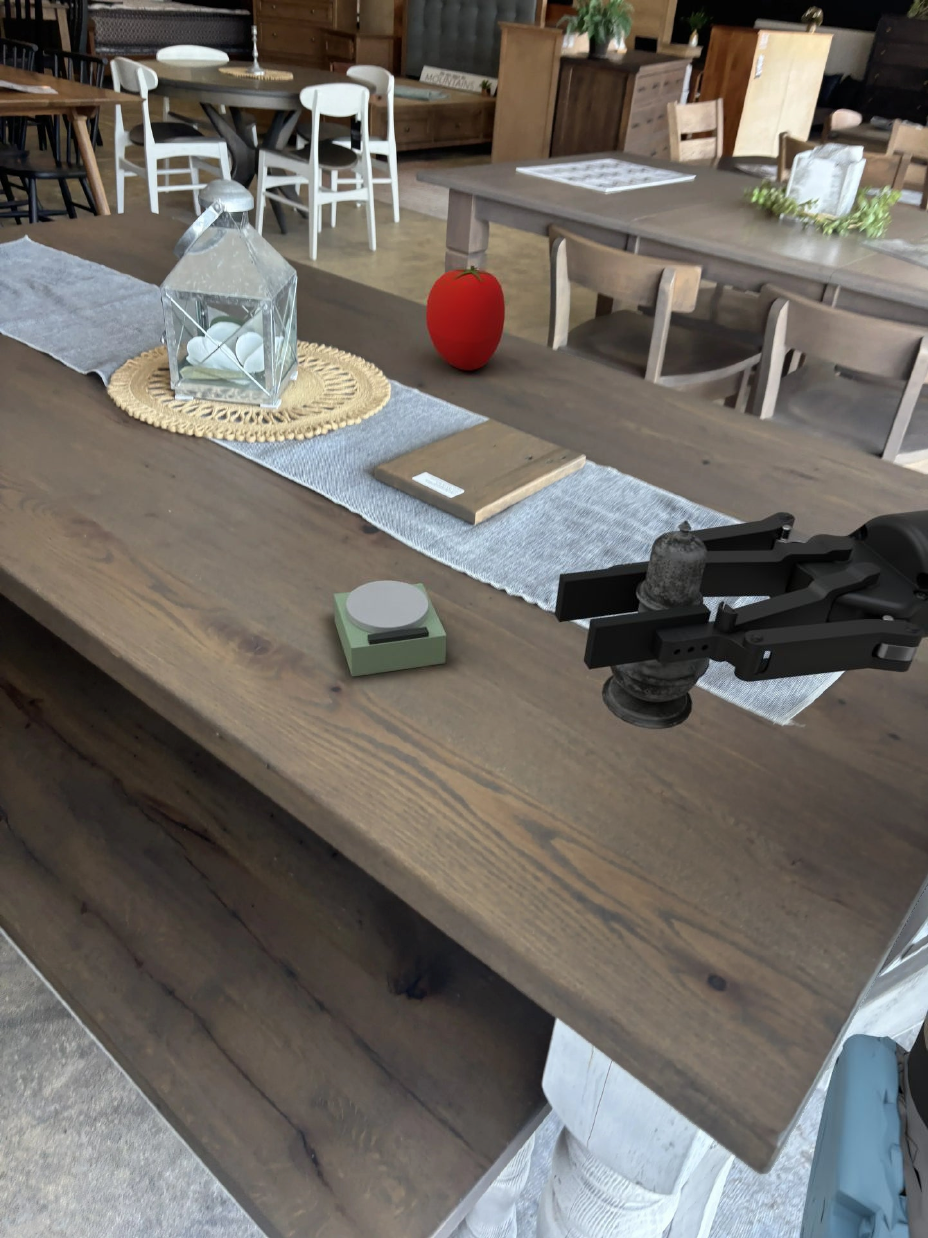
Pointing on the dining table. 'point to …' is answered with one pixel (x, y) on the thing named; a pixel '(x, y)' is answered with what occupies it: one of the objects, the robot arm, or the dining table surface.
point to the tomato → (466, 317)
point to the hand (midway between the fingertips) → (575, 620)
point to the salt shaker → (650, 686)
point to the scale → (388, 628)
